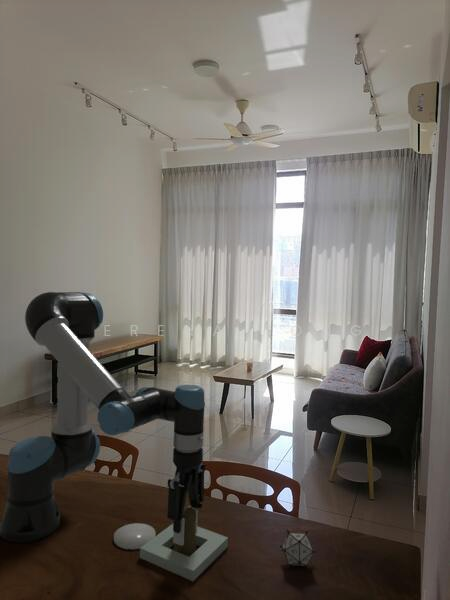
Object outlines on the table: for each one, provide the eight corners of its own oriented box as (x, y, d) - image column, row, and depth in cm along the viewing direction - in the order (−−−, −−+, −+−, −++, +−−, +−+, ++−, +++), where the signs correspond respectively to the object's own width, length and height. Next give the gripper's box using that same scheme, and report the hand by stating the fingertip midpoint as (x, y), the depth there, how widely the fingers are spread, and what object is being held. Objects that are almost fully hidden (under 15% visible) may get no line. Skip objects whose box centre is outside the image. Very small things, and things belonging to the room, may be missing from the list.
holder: (139, 557, 109) (140, 547, 109) (178, 528, 123) (178, 519, 123) (193, 581, 101) (193, 570, 101) (227, 546, 115) (228, 537, 115)
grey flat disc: (104, 540, 116) (104, 537, 116) (133, 522, 125) (133, 519, 125) (136, 554, 110) (136, 551, 110) (163, 534, 120) (163, 531, 120)
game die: (300, 584, 107) (305, 568, 100) (271, 560, 111) (274, 543, 104) (318, 553, 112) (324, 536, 106) (290, 532, 116) (294, 514, 110)
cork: (193, 561, 108) (194, 517, 108) (169, 557, 110) (171, 514, 109) (199, 547, 114) (200, 505, 114) (177, 543, 115) (178, 502, 115)
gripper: (178, 462, 101) (175, 561, 102) (219, 440, 117) (216, 525, 118) (153, 455, 105) (150, 550, 106) (196, 434, 121) (193, 517, 122)
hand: (185, 537), depth 112 cm, fingers closed on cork, 5 cm apart
